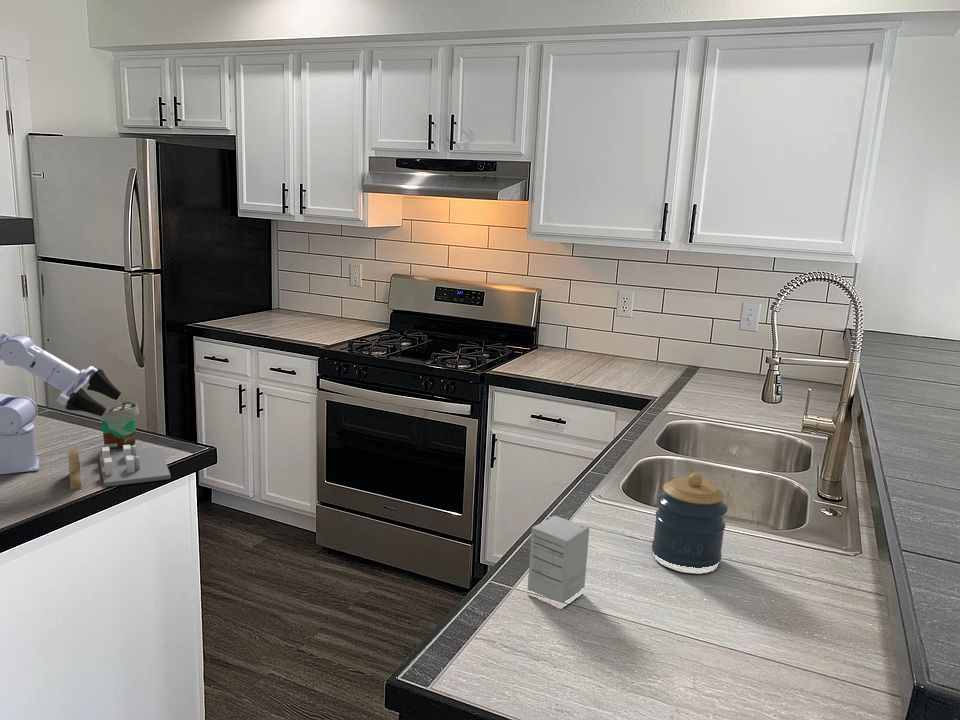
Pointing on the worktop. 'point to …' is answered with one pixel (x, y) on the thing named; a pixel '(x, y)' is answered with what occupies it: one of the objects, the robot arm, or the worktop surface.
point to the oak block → (74, 468)
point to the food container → (120, 425)
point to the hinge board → (132, 466)
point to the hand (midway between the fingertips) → (111, 404)
